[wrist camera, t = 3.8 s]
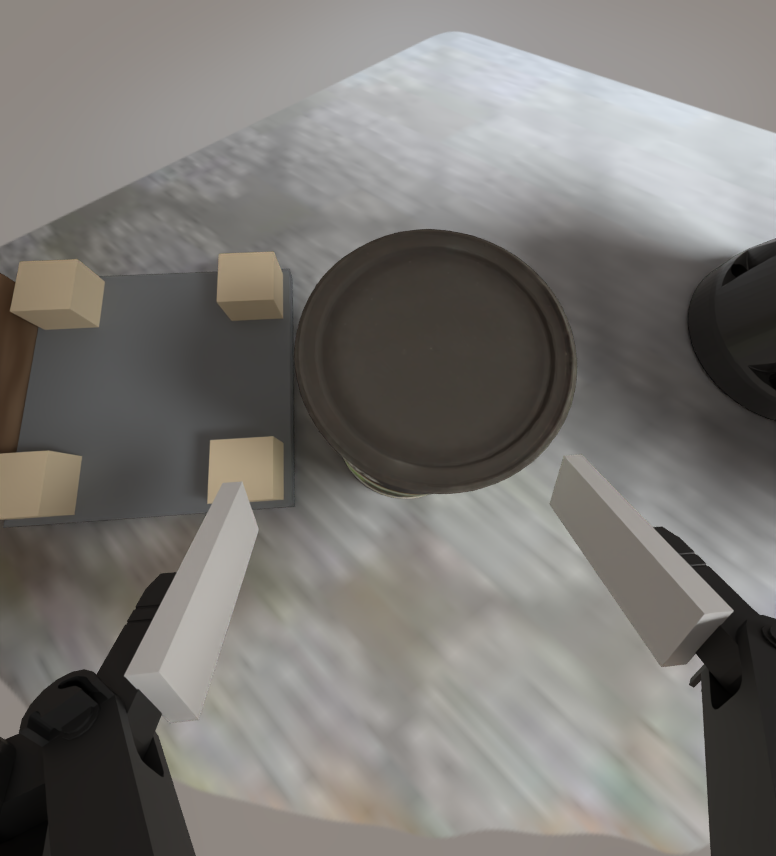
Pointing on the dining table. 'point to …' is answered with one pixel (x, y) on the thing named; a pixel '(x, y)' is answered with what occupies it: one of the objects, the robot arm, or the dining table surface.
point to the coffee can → (435, 363)
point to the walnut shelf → (13, 366)
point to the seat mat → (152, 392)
